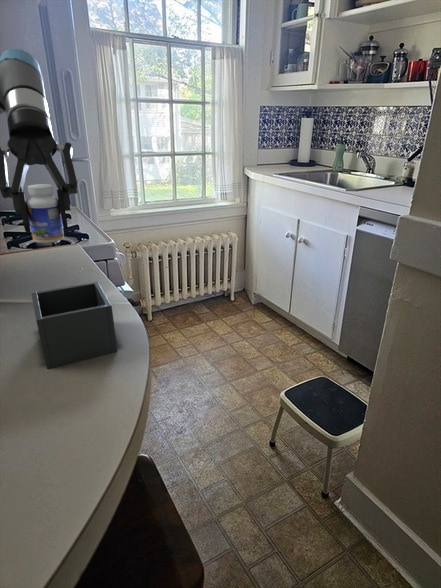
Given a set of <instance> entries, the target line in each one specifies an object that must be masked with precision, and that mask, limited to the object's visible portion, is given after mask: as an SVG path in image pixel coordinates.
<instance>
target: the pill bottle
mask: <svg viewBox="0 0 441 588" xmlns="http://www.w3.org/2000/svg"><path fill="white" fill-rule="evenodd" d="M27 193H28V195H29V196H30V197H28V198H27V199H26V206H27V212H28V217H29V224H30V231H31V232H30V233H31V237H32V240H33V242H34V243H38V244H51V243H56V242H60V241H62V240H64V238H65V233H64V232H65V231H64V229H63V224H62V218H61V212H60V206H59V201H58V197H56V196H53V194H54V188H53V185H52V184H50V183H49V184H48V183H37V184H30V185H27Z"/></svg>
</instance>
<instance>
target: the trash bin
mask: <svg viewBox="0 0 441 588" xmlns="http://www.w3.org/2000/svg"><path fill="white" fill-rule="evenodd" d="M31 298H32V302H33V303H32V304H33V309H34V315H35V321H36V325H37V331H38V334H39V339H40V340H39V341H40V344H41V349H42V353H43V358H44V362H45V368H46V369H47V370H48V369H52V368H57V367H60V366H65V365H68V364H73V363H76V362H77V363H78V362H80V361H85V360H88V359H89V360H90V359H93V358H97V357H100V356H105V355H109V354H113V353H117V352H118V345H117V339H116V338H117V336H116V328H115V321H114V320H115V319H114V314H113V313H114V312H113V305H112V304H111V302H110V300H109V298H108V296H107V295H106V293H105V291H104V290H103V288H102V287H101V285H100V283H99V282H98V281H93V282H88V283H82V284H76V285H75V284H74V285H69V286H64V287H58V288H51V289H45V290H40V291H34V292H31Z"/></svg>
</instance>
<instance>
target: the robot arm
mask: <svg viewBox="0 0 441 588" xmlns="http://www.w3.org/2000/svg"><path fill="white" fill-rule="evenodd" d="M44 83H45V81H44V76H43V75H42V71H41V67H40V64H39V62H38V60H37V59H36V58H35V56H33V55H32V53H29V52H28V51H26V50H24V49H21V48H9V49H6V50H4V51H3V52H2V53H1V54H0V115H2V114H5V116H6V120H7V122H6V123H7V128H8V136H9V139H8V141H7V143H6V144H4V145H0V194H1V197H2V198H4V199H8V198H10V199H12V204H13V211H14V213H15V214H16V215H21V217H22V218H21V219H22V225H23V228H24V231H25V233H27V234H30V233H32V232H31V227H30V222H29V217H28V212H27V206H26V201H27V199H26V195H25V192H24V188H25V182H26V178H27V173H28V171H29V167H30V166H34V165H39V166H44V168H45V169H46V170H47V171H48V174H49V175H50V177H51V179H52V180H53V182H54V184H55V186H56V188H57V189H56V195H57V199H58V201H59V206H60V213H61V219H62V225H63V230H68V229H69V227H68V219H67V214H66V212H67V211H71V210H72V203H71V198H70V195H72V194H73V195H76V194H78V193H79V187H78V180H77V179H78V178H77V175H76V171H75V168H74V162H73V158H72V157H73V146H72V143H71V142H69V141H67V142H65V143H64V144H62V143H58V142H57V140H56V139H55V137H54V133H53V130H52V129H53V128H52V123H51V118H50V117H51V116H50V113H49V106H48V102H47V98H46V91H45V84H44ZM57 152H59V156H61V157H62V159H63V161H64V162H63V163H64V167H65V171H66V176H67V179H68V183H67V182H66V181H65V179H64V177H63V176H62V173H61V172H60V170H59V168H58V167H57V165H56V163H55V161H54V159H53V157H54V156H55V154H56V153H57ZM9 154H12V155H13V156H14V157H16V158H17V162H16V166H15V170H14V173H13V174H14V175H13V178H12V183H11V186H10V185H9V184H10V183H9V173H8V164H7V160H8V159H9Z"/></svg>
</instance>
